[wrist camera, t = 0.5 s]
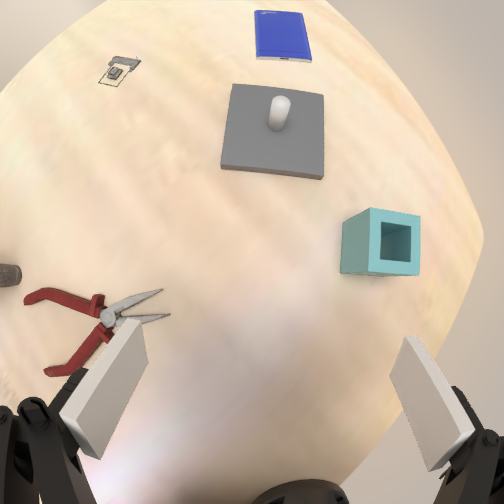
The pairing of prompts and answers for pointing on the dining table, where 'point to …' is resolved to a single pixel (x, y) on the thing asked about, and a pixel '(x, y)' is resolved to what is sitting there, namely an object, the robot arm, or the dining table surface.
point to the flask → (9, 275)
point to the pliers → (92, 309)
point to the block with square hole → (381, 244)
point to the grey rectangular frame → (115, 71)
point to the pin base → (274, 131)
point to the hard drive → (281, 36)
